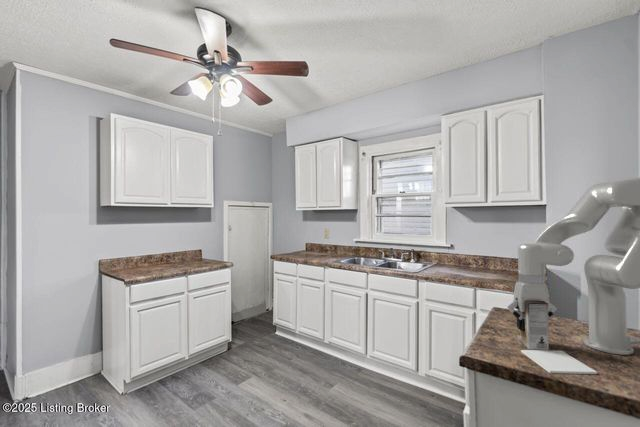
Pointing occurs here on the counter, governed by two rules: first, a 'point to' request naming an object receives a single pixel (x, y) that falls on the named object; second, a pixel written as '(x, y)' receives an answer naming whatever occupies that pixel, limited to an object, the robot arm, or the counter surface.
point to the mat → (558, 362)
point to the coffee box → (535, 326)
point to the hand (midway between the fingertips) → (532, 329)
